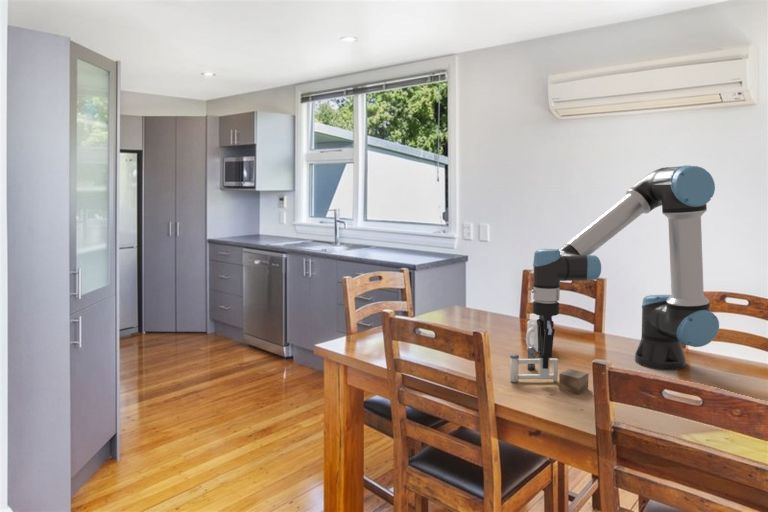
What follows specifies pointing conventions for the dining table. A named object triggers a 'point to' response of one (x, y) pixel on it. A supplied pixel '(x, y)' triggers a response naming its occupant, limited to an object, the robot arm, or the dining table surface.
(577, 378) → the block
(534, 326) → the mug
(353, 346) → the dining table surface
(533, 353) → the latch post
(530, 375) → the gate
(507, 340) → the dining table surface
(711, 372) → the dining table surface
